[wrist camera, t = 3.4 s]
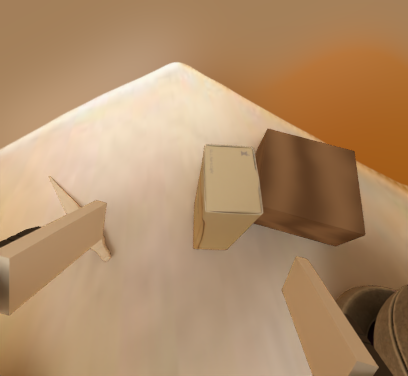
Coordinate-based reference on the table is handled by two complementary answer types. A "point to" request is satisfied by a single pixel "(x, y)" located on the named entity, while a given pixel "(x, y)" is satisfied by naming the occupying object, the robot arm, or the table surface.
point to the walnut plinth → (309, 189)
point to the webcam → (381, 321)
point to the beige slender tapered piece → (71, 206)
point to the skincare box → (226, 196)
